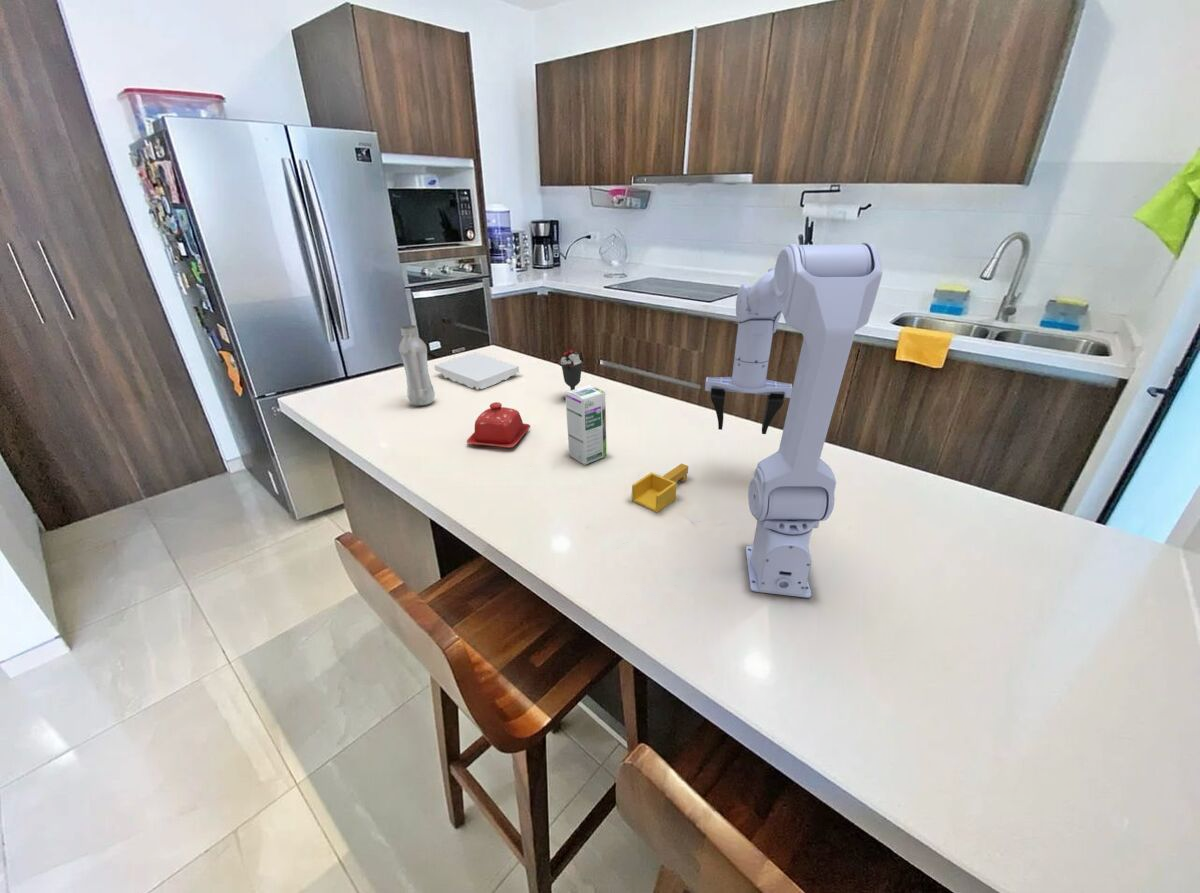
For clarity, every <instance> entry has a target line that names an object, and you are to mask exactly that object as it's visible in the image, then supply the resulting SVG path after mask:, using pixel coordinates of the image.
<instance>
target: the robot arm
mask: <svg viewBox="0 0 1200 893" xmlns="http://www.w3.org/2000/svg"><path fill="white" fill-rule="evenodd" d="M882 276H883V268H882V263H881V257H880V254H879V251H878V249H877V247H876V246H875V245H874V244H873V243H871V242H861V243H859V244H858V243H849V244H848V243H847V244H842V243H841V244H796V243H791V242H790V243H787V244H786V245H785V246H784V247H783V248H782V249H781V250H780V252H779V254H778V256H777V258H776V262H775V266H774V267H770V268H769V269H768V270H767V272H765V274H763V275H762V276H761V277H760V278H759V279H758V280H757V281H756V282H755V283H753V285H750V284H749V285H748V284H745V283H742V284H740V286H739V288H738V289H737V290H738V291H737V293H736V300H735V316H736V320H737V321H738V324H737V332H736V340H735V349H734V357H733V367H732V375H731V376H722V377H721V376H720V377H718V376H717V377H713V376H712V377H710V376H706V378H705V386H704V392H710V400H711V403H712V405H713V407H714V411H715V413H716V414H715V415H716V418H717V425H718V426H717V429H718V430H721V431H722V430H723V427H724V425H723V424H724V412H725V411H724V410H725V400H726V392H730V393H732V392H733V393H740V394H741V393H743V394H755V395H766V402H765V411H764V416H763V420H762V425H761V435H767V431H768V429H769V426H770V425H771V422H772V420H773V419H774V417H775V416H776V414H777V413H778V412H779V410H780V409H781V408H782V407H783V405H784V402H785V399H786V398H787V399H789V402H788V407H787V411H786V415H785V420H784V424H783V430H782V434H781V438H780V441H779V442H780V443H779V447H778V450H777V451H776V452H774V453H773V454H771V455H769V456H767V457H765V458H764V459H762V460H760V461H759V462H757V465H756V468H755V470H754V474H753V475H752V478H751V479H750V481H749V484H748V491H747V497H748V498H747V499H748V501H747V502H748V507H749V511H750V514H751V515H752V517H753V518H754V519H755V520H756V526H755V530H754V531H755V532H754V536H753V545H746V546H745V556H746V564H747V571H748V572H747V573H748V581H749V589H750V591H752V592H756V593H765V594H772V595H773V594H774V595H782V596H791V597H799V598H807V599H809V598H811V597H812V590H811V586H810V584H809V583H810V582H809V576H810V571H811V568H812V555H811V552H810V541H811V537H812V532H813V529H819V525H820V523H821V522H825V521H827V520H828V519H829V518H830V516H831V515H832V513H833V512H834V508H835V500H836V498H835V493H836V492H835V491H836V487H837V480H836V476H835V474H834V472H833V470H832V468H831V467H830V465H828V464H827V463H826V462H825V461H824V460H822V459H821V456H822V452H823V449H824V445H825V442H826V439H827V434H828V431H829V427H830V424H831V420H832V417H833V413H834V410H835V406H836V403H837V398H838V395H839V393H840V392H839V391H840V388H841V385H842V380H843V378H844V375H845V370H846V367H847V363H848V359H849V356H850V352H851V349H852V345H853V343H854V339H855V336H856V335H855V334H856V331H858V330H860V329H861V328H863V327H864V326H866V325H867V324H868V323H869V320H870V317H871V313H872V311H873V308H874V305H875V301H876V297H877V295H878V291H879V288H880V285H881V282H882ZM781 316H783V318H784V322H785V325H786V326H788V327H790V328H792V329H794V330H795V331H797V332H800V333H801V334H802V337H803V338H802V344H801V348H800V353H799V357H798V362H797V367H796V371H795V376H794V379H793V384H792V383H787V382H780V381H775V380H770V379H767V377H768V376H767V374H768V369H769V362H770V355H771V349H772V343H773V336H774V334H775V333H776V332H777V330H778V325H779V324H778V323H779V320H780V319H781Z"/></svg>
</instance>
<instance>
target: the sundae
mask: <svg viewBox="0 0 1200 893" xmlns="http://www.w3.org/2000/svg"><path fill="white" fill-rule="evenodd" d="M562 346H563V347H564V353H563V356H562V357H561V359H560V360H558V365H559V366H560V367H561V370H562V376H563V380H564V383H565V384H566V385H567V386H568V387H569V388H570V390H569V391H571V390H574V389H576V386H578V385H579V384H580V382H581V377H582V376H581V375H582V369H583V364H585V360H584V356H585V355H584V353H583V352H580V354H578V352H576V351H574V350H573V349H571V348H569V347H568V346H567V344H563V345H562ZM567 349H568V352H567ZM563 400H564V401H565V402H566V396H564V397H563Z"/></svg>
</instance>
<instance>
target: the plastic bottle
mask: <svg viewBox="0 0 1200 893" xmlns="http://www.w3.org/2000/svg"><path fill="white" fill-rule="evenodd" d="M400 335H401V336H402V339H401V341H400V342H399V344H398V352H399V355H400V358H401V361H402V364H403V367H404V372H405V377H406V386H407V387H406V388H407V389H406V394H407V399H408V401H409V403H410V404H411V405H413V406H426V405H429V404H431V403H433V402H434V400H435V398H436V396H435V394H436V393H435V389H434V386H433V384H432V380H431V377H430V373H429V365H428V347H427V344H426V343H425V342H424V340H423V339H422V338H421V337H419V336H418V335H419V331H418V327H417V325H412V324H409V325H403V326H400Z"/></svg>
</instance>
